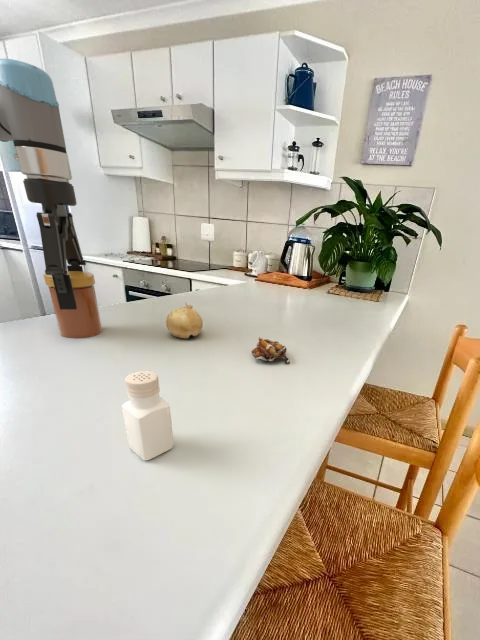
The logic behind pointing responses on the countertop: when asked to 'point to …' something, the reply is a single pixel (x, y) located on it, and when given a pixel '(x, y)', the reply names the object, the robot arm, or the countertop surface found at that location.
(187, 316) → the onion
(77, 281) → the lid
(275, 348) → the brown lumpy piece
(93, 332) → the jar
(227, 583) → the countertop surface
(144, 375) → the salt shaker
